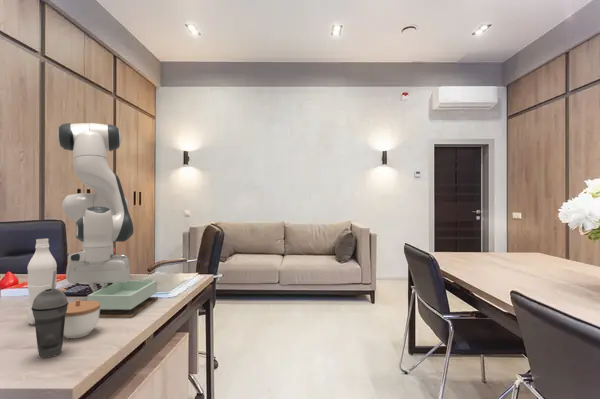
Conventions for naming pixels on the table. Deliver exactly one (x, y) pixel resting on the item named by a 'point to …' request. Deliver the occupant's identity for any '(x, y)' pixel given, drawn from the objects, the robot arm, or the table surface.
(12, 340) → the table surface
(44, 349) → the beverage cup
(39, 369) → the table surface
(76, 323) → the lidded jar
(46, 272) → the water bottle
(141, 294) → the mint green tray
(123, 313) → the track
